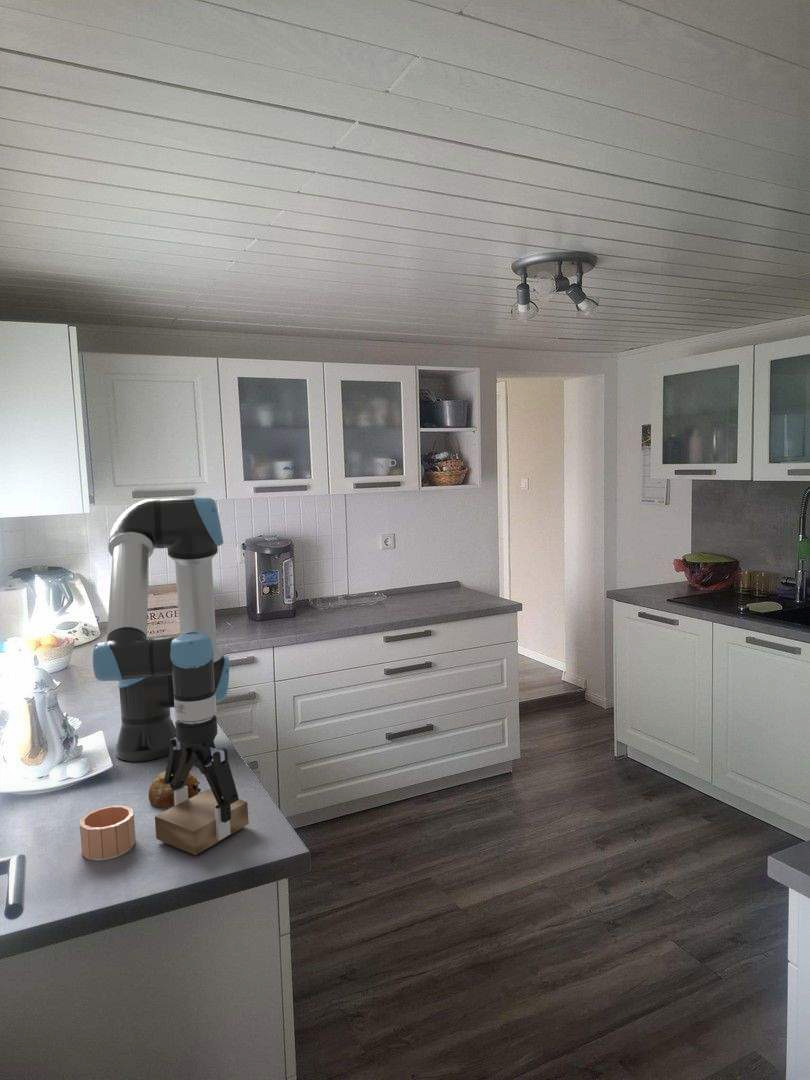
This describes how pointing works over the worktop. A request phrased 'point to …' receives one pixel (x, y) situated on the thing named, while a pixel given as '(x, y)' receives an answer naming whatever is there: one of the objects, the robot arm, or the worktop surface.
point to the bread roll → (169, 790)
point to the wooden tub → (107, 832)
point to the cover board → (197, 822)
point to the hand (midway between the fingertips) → (202, 828)
